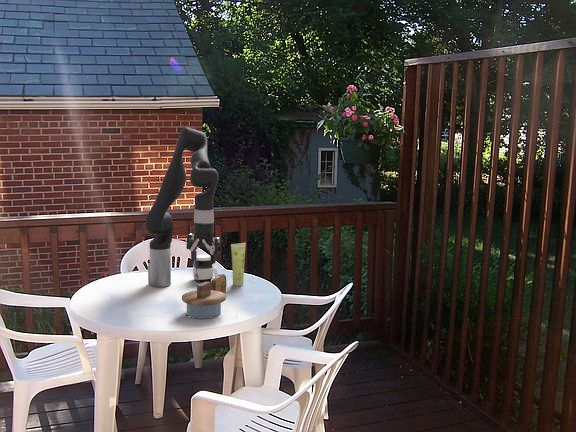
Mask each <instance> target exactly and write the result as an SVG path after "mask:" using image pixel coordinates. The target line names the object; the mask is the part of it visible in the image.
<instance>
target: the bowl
mask: <svg viewBox="0 0 576 432" xmlns="http://www.w3.org/2000/svg"><path fill="white" fill-rule="evenodd" d="M221 311H222V303H219V304H214V305H204V306H201V305H191V304H187V303H186V314H187V316H188V317H190V318H192V319H197V320H209V319H210V320H211V319H214V318H217V317H219V316H220V315H221Z"/></svg>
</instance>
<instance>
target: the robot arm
mask: <svg viewBox="0 0 576 432" xmlns="http://www.w3.org/2000/svg"><path fill="white" fill-rule="evenodd" d="M207 137H208V136H207V135H206V133H204V132H203V131H202V130H201V131H200V130H197V129H194V128H191V127H188V126H184V127H183V128H182V129H181V130H180V133H179V135H178V138H177V142H176V145H175V148H174V151H173V155H172V158H171V161H170V162H169V166H168V168H167V170H166V171H165V172H166V173H165V174H164V177H163V179H162V183H161V185H160V188H159V191H158V194H157V195H156V197H155V200H154V202H153V204H152V206H151V208H150V209H149V212H148V214H147V216H146V217H145V218H146V219H145V222H144V224H145V229H146V232H148V233H149V234H151V235H155V236H154V238H153V239H152V240H150V241H149V263H148V264H147V276H148V277H147V283H148V286H150V287H154V288H165V287H169V286H171V284H172V282H171V281H172V279H171V277H172V273H171V272H172V271H171V270H172V264H171V261H172V260H171V255H172V254H171V247H172V246H171V244H172V242H173V228H174V227H173V225H174V222H173V217H172V215H171V213H169V212H168V209H169V208H170V207H171V206H172V205H173V203H174V202H176V201H177V199H178V198H179V197H180V196H181V194H182V193H183V191H184V188H185V185H186V183H187V172H186V170H185V164H184V161H183V160H184V159H183V154H184V151H188V152H191V153H192V155H191V157H190V165H191V173H190V176H189V181H190V184H191V186H193V187H195V188H207V189H206V190H205V191H204V192H199V193H196V194H195V195H194V212H193V233H187V235H186V246H185V248H186V249H187V250H189V251H190V259H191V261H192V262H194V261H196V260H197V255H198V254H197V253H198V252H197V250H198V248H204V249H206V250H207V251H209V252H210V253H209V256H210V264H212V265H215V264H216V262H217V255H218V254H221V252H222V245H221V244H222V243H221V237H214V232H215V229H214V227H215V214H214V213H215V212H214V199H215V194H216V189H217V186H218V182H219V175H220V174H219V173H218V171H217V170H216V169H215V168H211V163H210V160H209V157H208V138H207Z"/></svg>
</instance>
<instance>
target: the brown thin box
mask: <svg viewBox="0 0 576 432" xmlns="http://www.w3.org/2000/svg"><path fill="white" fill-rule="evenodd" d="M226 277H227V276H226V275H225V274H218V275H217V276H216V277H215V276H214V277H213V278H212V280H210V281H211V290H215V291H220V292H222V293H224V294H225V293H226V290H227V278H226Z"/></svg>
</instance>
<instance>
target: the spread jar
mask: <svg viewBox="0 0 576 432" xmlns="http://www.w3.org/2000/svg"><path fill="white" fill-rule="evenodd" d="M192 273H193V274H192V276H193V279H194V281H195V282H197V283H203V282H210V281H212V280H213V278H215V277H216V276H217V275H219V272H218V269H217V267H216V266H213V264H210V254H209V255H208V254H197V260H196V261H193V265H192ZM213 275H214V277H213Z"/></svg>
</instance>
